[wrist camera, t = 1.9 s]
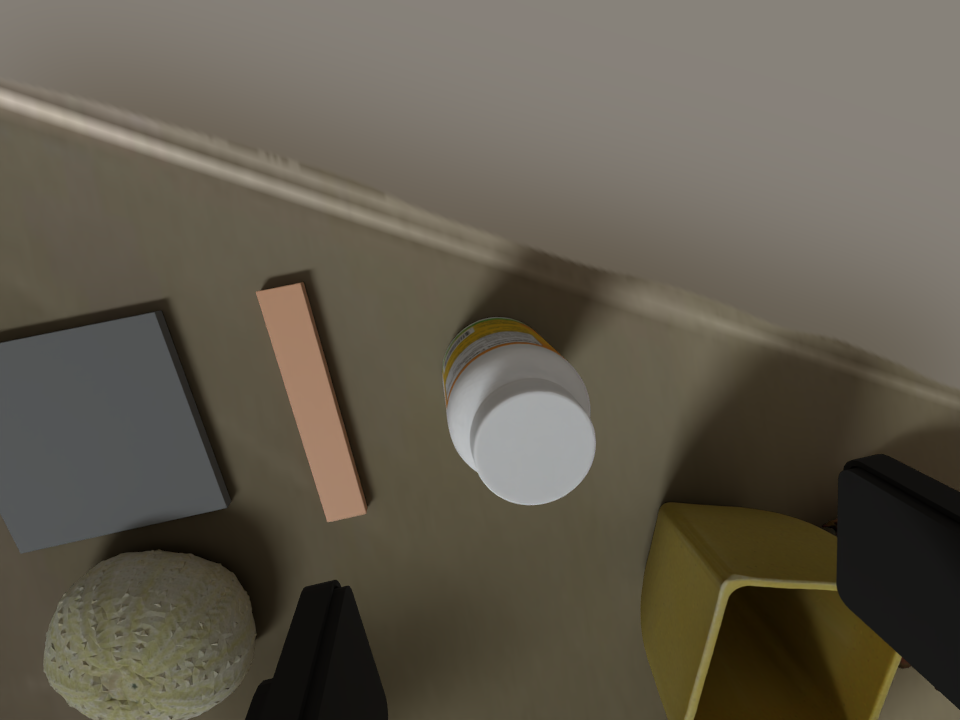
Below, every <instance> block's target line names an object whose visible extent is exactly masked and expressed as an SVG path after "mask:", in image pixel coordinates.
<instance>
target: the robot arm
mask: <svg viewBox="0 0 960 720" xmlns="http://www.w3.org/2000/svg"><path fill="white" fill-rule="evenodd" d="M836 586H837V591H838V594H839V596H840V598H841V600H842V601H843V603H844V604H845V605H846V606H847V607H848V608H849V609H850V610H851V611H852V612H853V613H854V614H855V615H856V616H857V617H859V618H860V619H861V620H862V621H863V622H864V623H865V624H866V625H867V626H868V627H870V628H871V629H872V630H873V631H874V632H875V633H876V634H877V635H878V636H879V637H880V638H882V639H883V640H884V641H885V642H886V643H887V644H888V645H889V646H890V647H891V648H893V649H894V650H895V651H896V652H897V653H898V654H899V655H900V656H901V657H902V658H903V659H905V660H906V661H907V662H908V663H909V664H910V665H911V666H912V667H913V668H914V669H916V670H917V671H918V672H919V673H920V674H921V675H922V676H923V677H924V678H925V679H927V680H928V681H929V682H930V683H931V684H932V685H933V686H934V687H935V688H936V689H937V690H939V691H940V692H941V693H942V694H943V695H944V696H945V697H946V698H947V699H948V700H950V701H951V702H952V703H953V704H954V705H955V706H956V707H957V708H958V709H959V710H960V492H958V491H956V490H954V489H952V488H950V487H948V486H946V485H944V484H942V483H941V482H939V481H937V480H935V479H933V478H931V477H929V476H927V475H925V474H923V473H921V472H919V471H917V470H915V469H913V468H911V467H909V466H907V465H905V464H903V463H901V462H899V461H897V460H895V459H893V458H891V457H889V456H886V455H883V454H877V455H872V456H868V457H864V458H859V459H855V460H851V461H849V462H847V463H846V465H845V466H844V471H842V472H841V473H840V474H839V478H838V524H837V574H836ZM245 720H388V709H387V701H386V697H385V693H384V690H383V687H382V684H381V680H380V677H379V674H378V671H377V668H376V665H375V661H374V658H373V655H372V652H371V649H370V646H369V642H368V639H367V636H366V633H365V630H364V627H363V624H362V620H361V617H360V614H359V611H358V608H357V605H356V601H355V598H354V595H353V592H352V589H351V588H350V586H344V587H341V585H340V583H339V582H338V581H337V580H332V581H328V582H324V583H320V584H315V585H311V586H307V587H305V588H303V590H302V592H301V595H300V598H299V601H298V604H297V607H296V610H295V613H294V616H293V619H292V622H291V626H290V629H289V632H288V635H287V638H286V641H285V644H284V647H283V650H282V653H281V656H280V659H279V662H278V665H277V668H276V671H275V674H274V677H273V678H272V679H268V680H264V681H263V682H262V683H261V684H260V685H259V686H258V688H257V690H256V692H255V694H254V696H253V699H252V702H251V705H250V708H249V710H248V713H247V716H246V719H245Z"/></svg>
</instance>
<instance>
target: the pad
mask: <svg viewBox="0 0 960 720" xmlns="http://www.w3.org/2000/svg"><path fill="white" fill-rule="evenodd" d="M230 503H231V499H230V496H229V494H228V491H227V488H226V486H225V483H224V480H223V477H222V475H221V472H220V469H219V466H218V464H217V461H216V458H215V455H214V453H213V450H212V447H211V445H210V442H209V439H208V436H207V434H206V431H205V428H204V425H203V423H202V420H201V417H200V415H199V412H198V409H197V406H196V404H195V401H194V398H193V395H192V393H191V390H190V387H189V384H188V382H187V379H186V376H185V374H184V371H183V368H182V365H181V363H180V360H179V357H178V354H177V352H176V349H175V346H174V344H173V341H172V338H171V335H170V333H169V330H168V327H167V324H166V322H165V319H164V316H163V313H162V311H161V310H160V311H155V312H150V313H145V314H140V315H135V316H130V317H125V318H120V319H115V320H110V321H105V322H100V323H95V324H90V325H85V326H80V327H75V328H70V329H65V330H60V331H55V332H50V333H45V334H40V335H35V336H30V337H25V338H20V339H15V340H10V341H5V342H0V514H1V516H2V518H3V520H4V522H5V524H6V526H7V527H8V529H9V531H10V533H11V535H12V537H13V539H14V541H15V543H16V545H17V547H18V549H19V551H20V553H25V552H30V551H34V550H39V549H43V548H48V547H52V546H57V545H61V544H66V543H70V542H75V541H80V540H84V539H89V538H93V537H98V536H102V535H107V534H111V533H116V532H120V531H125V530H129V529H134V528H138V527H143V526H147V525H152V524H156V523H161V522H166V521H170V520H175V519H179V518H184V517H188V516H193V515H197V514H202V513H206V512H211V511H215V510H220V509H224V508H227V507H228V506H229V504H230Z"/></svg>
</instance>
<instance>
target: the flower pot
mask: <svg viewBox="0 0 960 720" xmlns="http://www.w3.org/2000/svg"><path fill="white" fill-rule="evenodd" d="M836 574H837V537H836V536H834V535H832V534H831V533H829V532H827V531H825V530H823V529H821V528H819V527H817V526H815V525H813V524H810V523H808V522H805V521H802V520H800V519H797V518H794V517H791V516H787V515H783V514H779V513H775V512H770V511H764V510H758V509H751V508H743V507H731V506H715V505H700V504H687V503H676V502H668V503H664V504H663V505H662V506H661V508H660V510H659V513H658V517H657V522H656V526H655V530H654V535H653V539H652V543H651V548H650V552H649V556H648V560H647V564H646V568H645V572H644V579H643V587H642V595H641V628H642V636H643V642H644V647H645V650H646V654H647V658H648V661H649V664H650V667H651V670H652V673H653V676H654V679H655V682H656V685H657V689H658V692H659V695H660V698H661V700H662V703H663V706H664V709H665V712H666V715H667V718H668V720H878V717H879V715H880V712H881V709H882V707H883V704H884V701H885V699H886V697H887V694H888V691H889V688H890V686H891V683H892V681H893V678H894V676H895V673H896V670H897V668H898V666H899V663H900V661H901V658H902V657H901V656H900V655H899V654H898V653H897V652H896V651H895V650H894V649H893V648H891V647H890V646H889V645H888V644H887V643H886V642H885V641H884V640H883V639H882V638H880V637H879V636H878V635H877V634H876V633H875V632H874V631H873V630H872V629H871V628H870V627H868V626H867V625H866V624H865V623H864V622H863V621H862V620H861V619H860V618H859V617H857V616H856V615H855V614H854V613H853V612H852V611H851V610H850V609H849V608H848V607H847V606H846V605H845V604H844V603H843V601H842V600H841V598H840V596H839V594H838V591H837V586H836Z"/></svg>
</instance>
